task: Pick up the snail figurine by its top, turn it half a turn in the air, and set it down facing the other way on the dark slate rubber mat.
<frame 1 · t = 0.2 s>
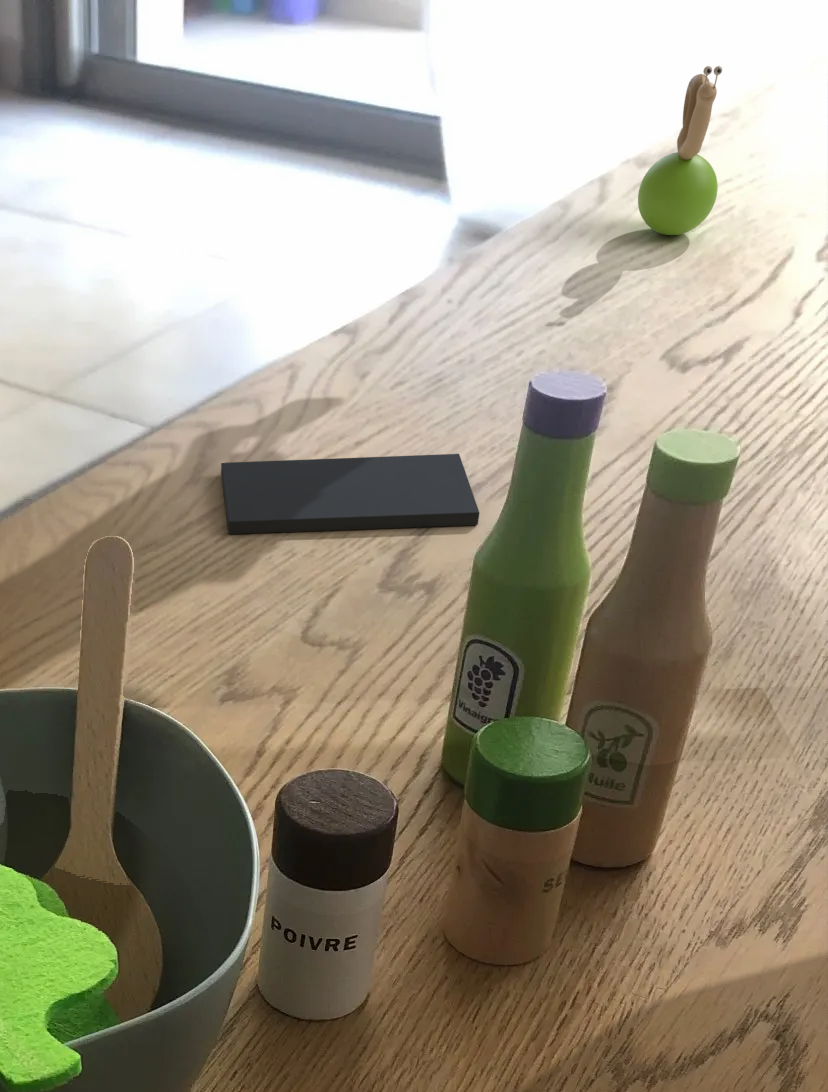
snail figurine: (669, 238, 120), on the table
mat: (345, 499, 94), on the table
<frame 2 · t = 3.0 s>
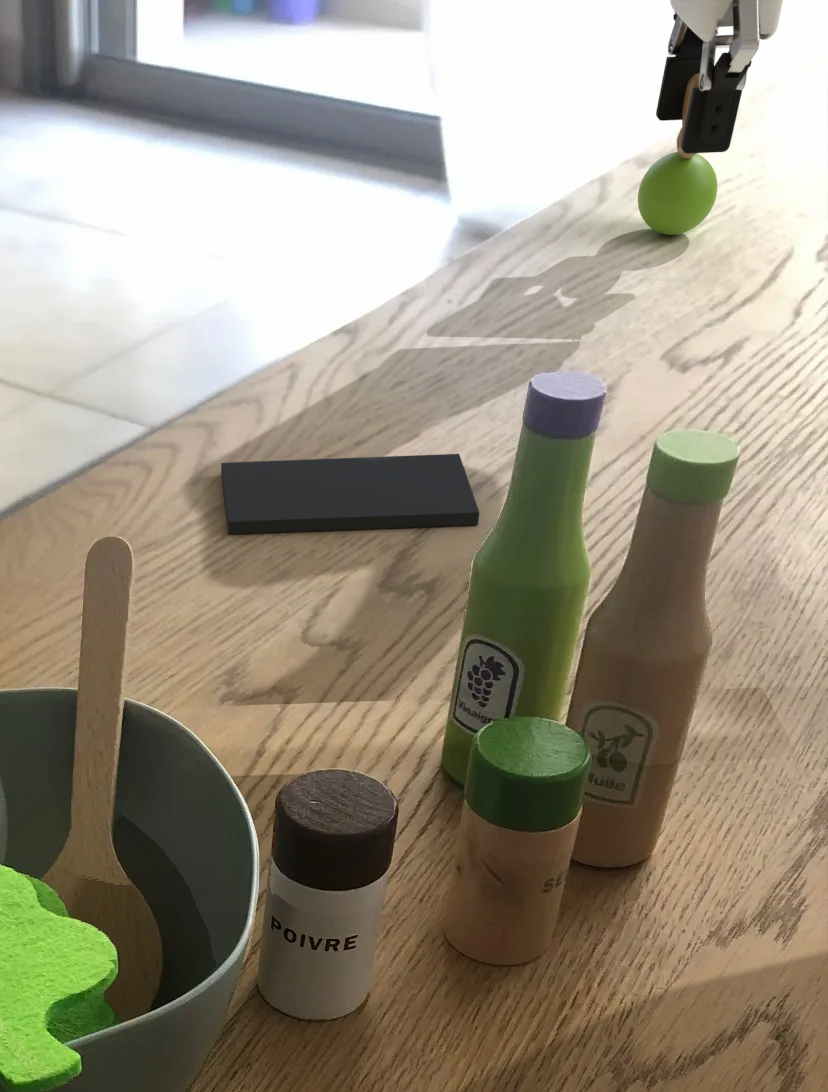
hand: (691, 132, 115), 7 cm above the table, tool pointing down, fingers closed on snail figurine, 6 cm apart
snail figurine: (669, 237, 120), on the table, touching gripper
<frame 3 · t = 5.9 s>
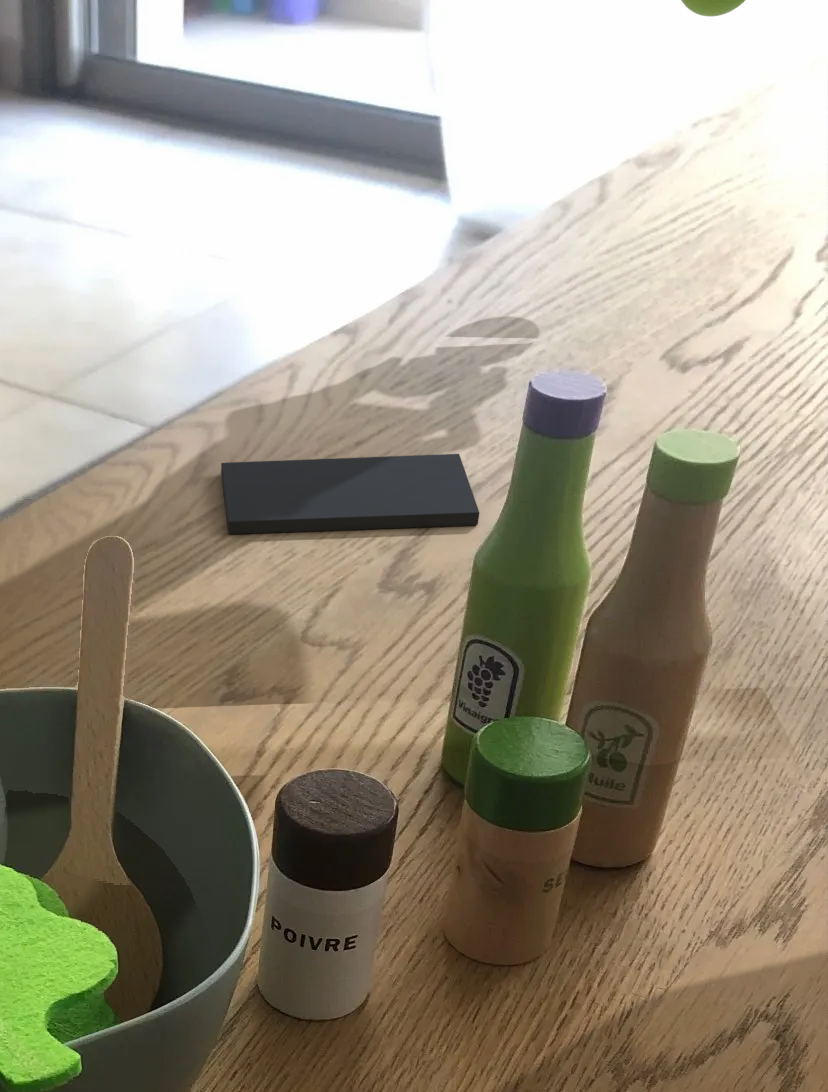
snail figurine: (716, 18, 110), point 14 cm above the table, touching gripper
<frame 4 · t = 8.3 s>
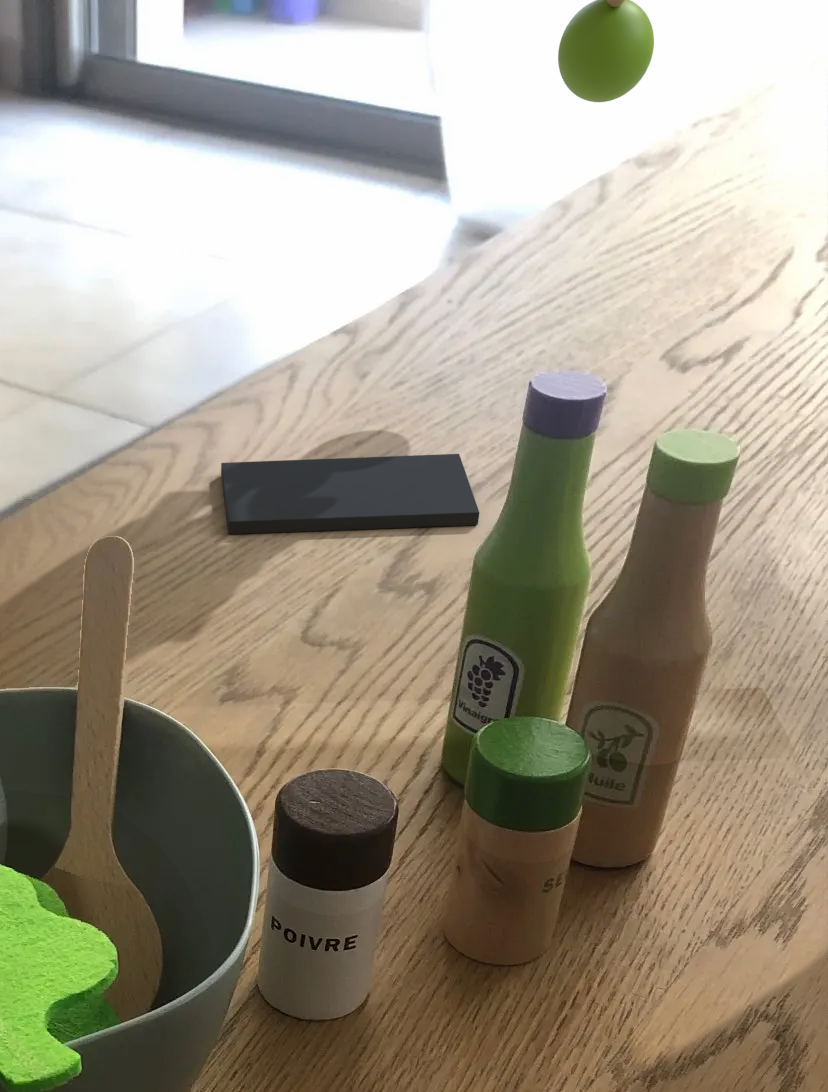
snail figurine: (596, 101, 99), point 14 cm above the table, touching gripper
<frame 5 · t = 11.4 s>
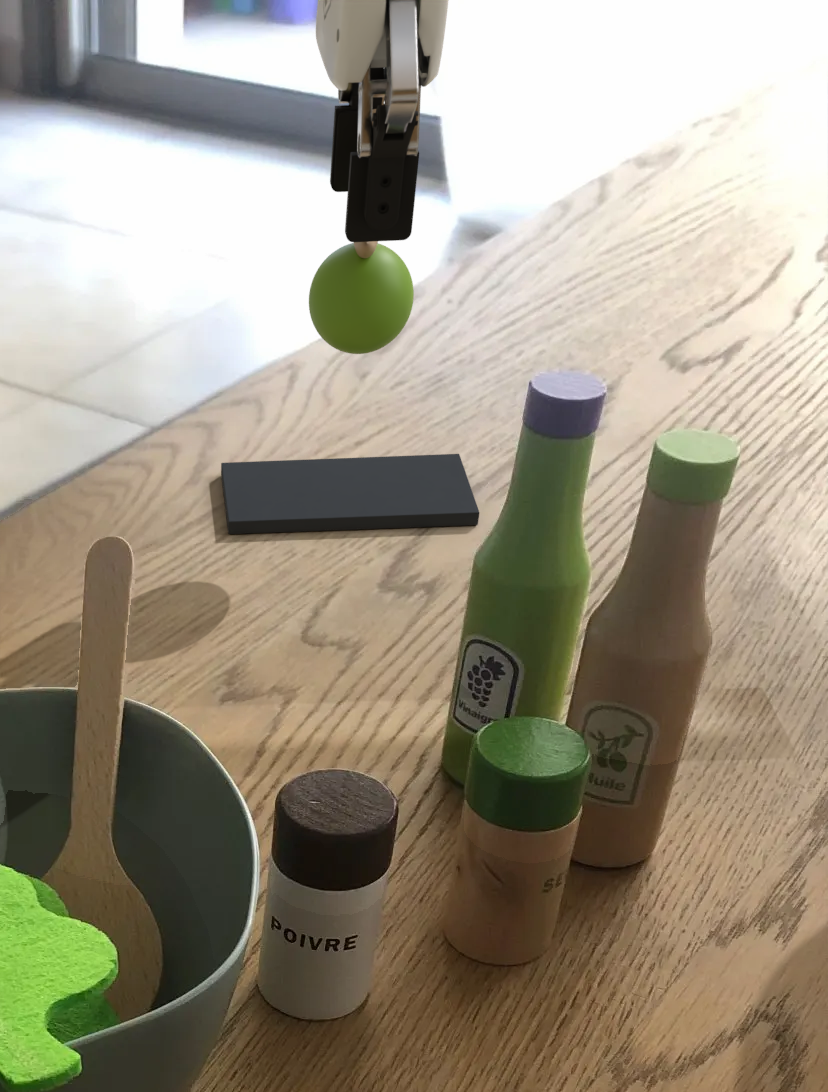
hand: (369, 209, 83), 16 cm above the table, tool pointing down, fingers closed on snail figurine, 6 cm apart
snail figurine: (356, 348, 88), point 9 cm above the table, touching gripper
when the fingers open (8 cm above the table, at t = 13.8 s): snail figurine stays where it is, resting on mat.
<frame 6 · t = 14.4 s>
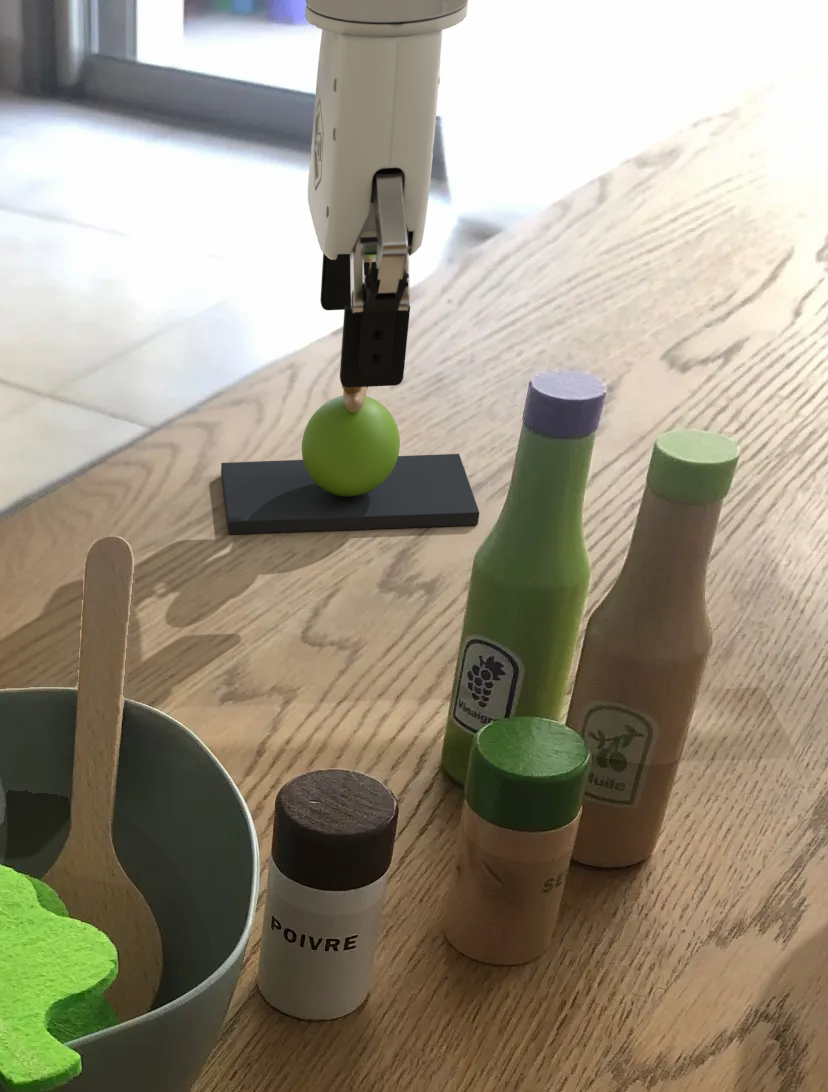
hand: (359, 344, 88), 9 cm above the table, tool pointing down, fingers open, 9 cm apart
snail figurine: (346, 489, 94), point 1 cm above the table, touching mat
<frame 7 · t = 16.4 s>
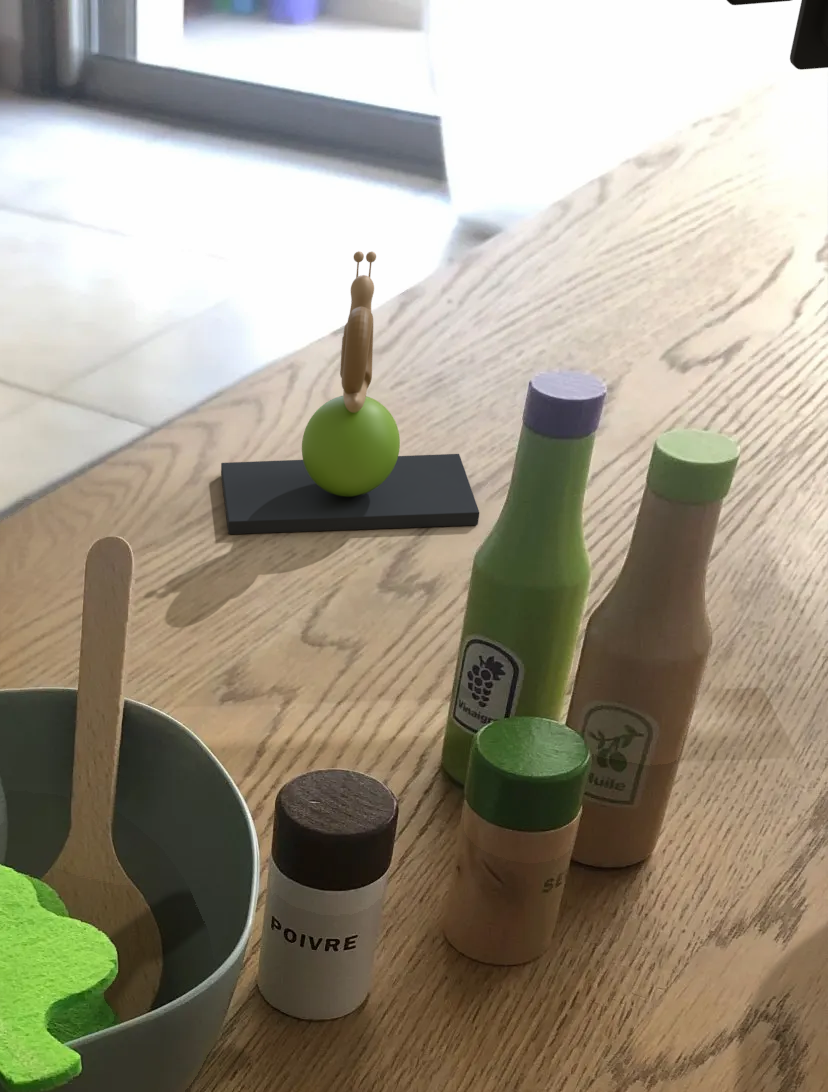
hand: (793, 31, 70), 26 cm above the table, tool pointing down, fingers open, 9 cm apart
nothing on the table moved.
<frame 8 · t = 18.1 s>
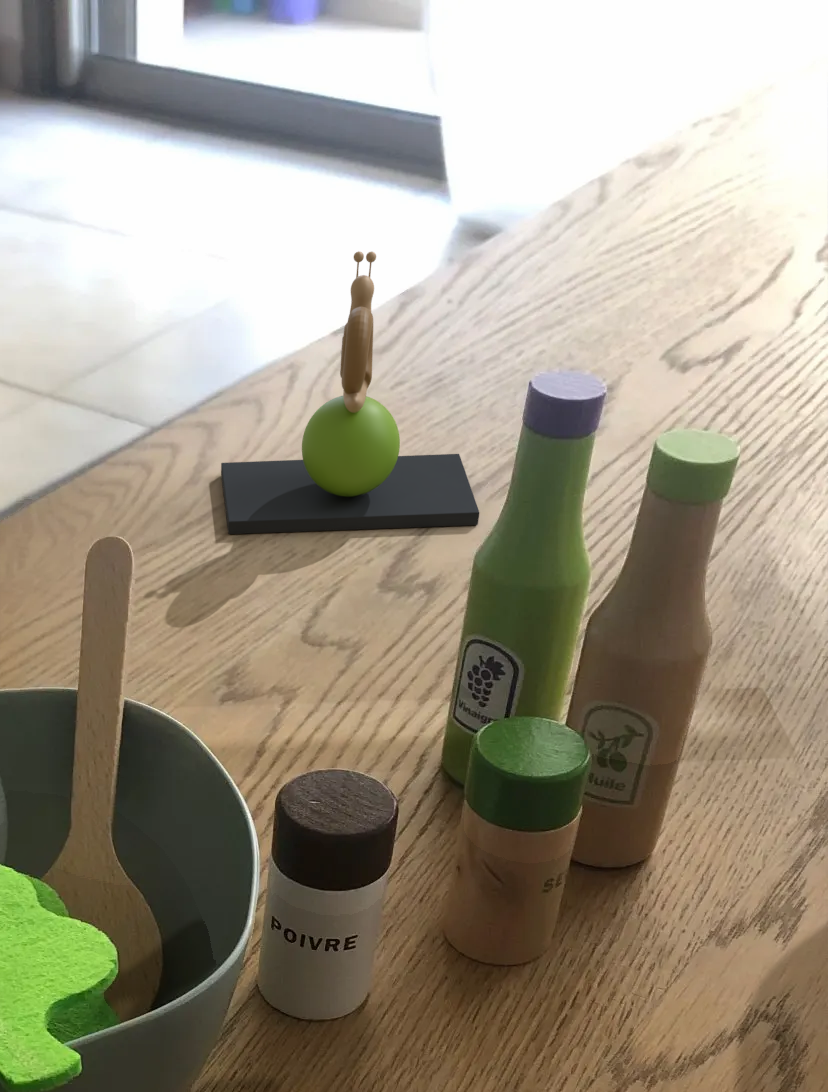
nothing on the table moved.
at the end: snail figurine inside the target area on the mat (0.0 cm from its centre), point 0.6 cm above the mat's base; snail figurine tilted 0°; the gripper is holding nothing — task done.
